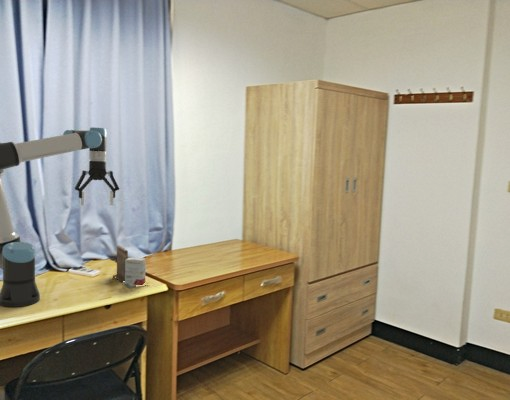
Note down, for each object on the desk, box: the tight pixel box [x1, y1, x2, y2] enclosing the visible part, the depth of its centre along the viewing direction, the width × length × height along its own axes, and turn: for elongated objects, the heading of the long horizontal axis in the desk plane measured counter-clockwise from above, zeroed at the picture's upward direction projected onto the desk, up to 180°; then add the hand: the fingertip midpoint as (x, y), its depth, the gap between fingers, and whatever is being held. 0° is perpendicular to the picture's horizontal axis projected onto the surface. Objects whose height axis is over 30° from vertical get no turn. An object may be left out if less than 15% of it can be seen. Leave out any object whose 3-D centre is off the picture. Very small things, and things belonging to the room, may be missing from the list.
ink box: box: [124, 257, 146, 285], centre depth 219 cm, size 9×5×12 cm, turn 84°
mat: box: [122, 282, 137, 289], centre depth 220 cm, size 10×10×1 cm
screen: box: [112, 245, 129, 283], centre depth 227 cm, size 3×12×15 cm, turn 33°
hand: (97, 205), depth 223 cm, fingers open, 13 cm apart
